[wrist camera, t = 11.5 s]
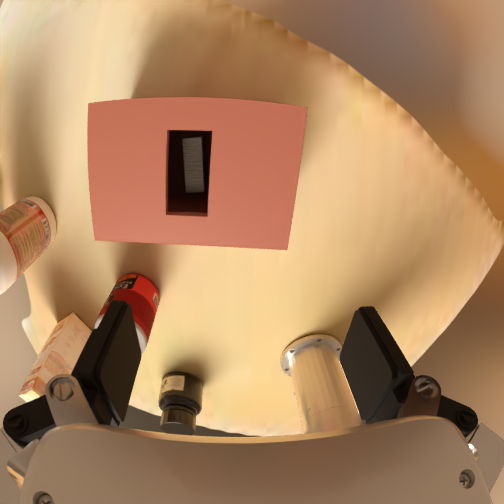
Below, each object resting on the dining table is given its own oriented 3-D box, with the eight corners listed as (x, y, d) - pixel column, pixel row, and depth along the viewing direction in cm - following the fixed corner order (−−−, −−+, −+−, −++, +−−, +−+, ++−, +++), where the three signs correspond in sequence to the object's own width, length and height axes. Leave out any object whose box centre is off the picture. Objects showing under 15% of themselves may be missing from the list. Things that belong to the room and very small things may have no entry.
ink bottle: (175, 364, 52) (168, 413, 42) (211, 380, 55) (210, 428, 45) (154, 384, 55) (147, 429, 45) (188, 399, 58) (185, 443, 48)
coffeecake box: (56, 322, 46) (17, 395, 29) (73, 310, 45) (31, 389, 28) (105, 368, 53) (82, 442, 35) (125, 360, 51) (103, 440, 34)
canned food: (133, 262, 41) (110, 306, 32) (170, 295, 44) (157, 343, 35) (108, 288, 43) (84, 332, 33) (142, 317, 46) (127, 364, 37)
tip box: (271, 210, 39) (287, 250, 29) (129, 204, 37) (95, 240, 26) (283, 109, 33) (307, 107, 22) (129, 104, 31) (88, 103, 20)
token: (206, 133, 33) (208, 179, 36) (190, 134, 33) (192, 180, 35) (201, 137, 27) (204, 191, 30) (182, 138, 27) (186, 192, 30)
